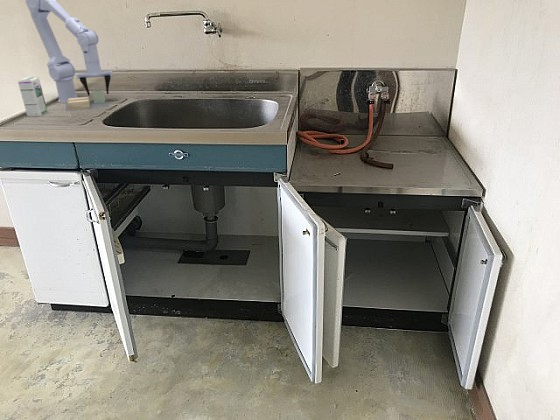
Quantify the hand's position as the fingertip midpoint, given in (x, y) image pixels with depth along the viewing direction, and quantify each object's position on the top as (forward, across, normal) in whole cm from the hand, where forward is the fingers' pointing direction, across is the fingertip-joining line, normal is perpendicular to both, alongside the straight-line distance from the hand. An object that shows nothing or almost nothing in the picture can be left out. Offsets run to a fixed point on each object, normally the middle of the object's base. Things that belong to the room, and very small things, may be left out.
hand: (98, 94), depth 204 cm
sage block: (+3, 0, 0) cm, 3 cm away
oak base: (+3, -8, -6) cm, 11 cm away
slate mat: (+4, -5, -4) cm, 7 cm away
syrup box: (+4, -24, -11) cm, 27 cm away
